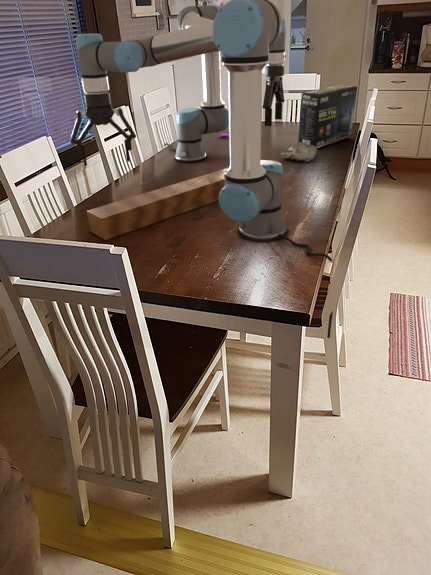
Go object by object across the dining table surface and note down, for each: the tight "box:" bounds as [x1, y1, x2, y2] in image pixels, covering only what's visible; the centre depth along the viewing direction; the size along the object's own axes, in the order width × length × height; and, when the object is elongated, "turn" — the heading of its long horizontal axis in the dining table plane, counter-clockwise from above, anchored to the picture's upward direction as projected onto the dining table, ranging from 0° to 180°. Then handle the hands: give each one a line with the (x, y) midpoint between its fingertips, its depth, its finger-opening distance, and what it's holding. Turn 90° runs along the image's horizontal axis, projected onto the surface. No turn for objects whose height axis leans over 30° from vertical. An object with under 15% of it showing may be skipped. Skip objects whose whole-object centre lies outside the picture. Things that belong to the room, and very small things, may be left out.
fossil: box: [280, 141, 318, 163], centre depth 221 cm, size 18×11×15 cm
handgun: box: [220, 133, 229, 139], centre depth 257 cm, size 21×8×2 cm, turn 11°
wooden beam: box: [86, 167, 228, 241], centre depth 173 cm, size 81×10×8 cm, turn 132°
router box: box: [297, 84, 358, 147], centre depth 238 cm, size 36×11×27 cm, turn 134°
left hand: (273, 122), depth 187 cm, fingers open, 13 cm apart
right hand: (107, 162), depth 149 cm, fingers open, 13 cm apart
